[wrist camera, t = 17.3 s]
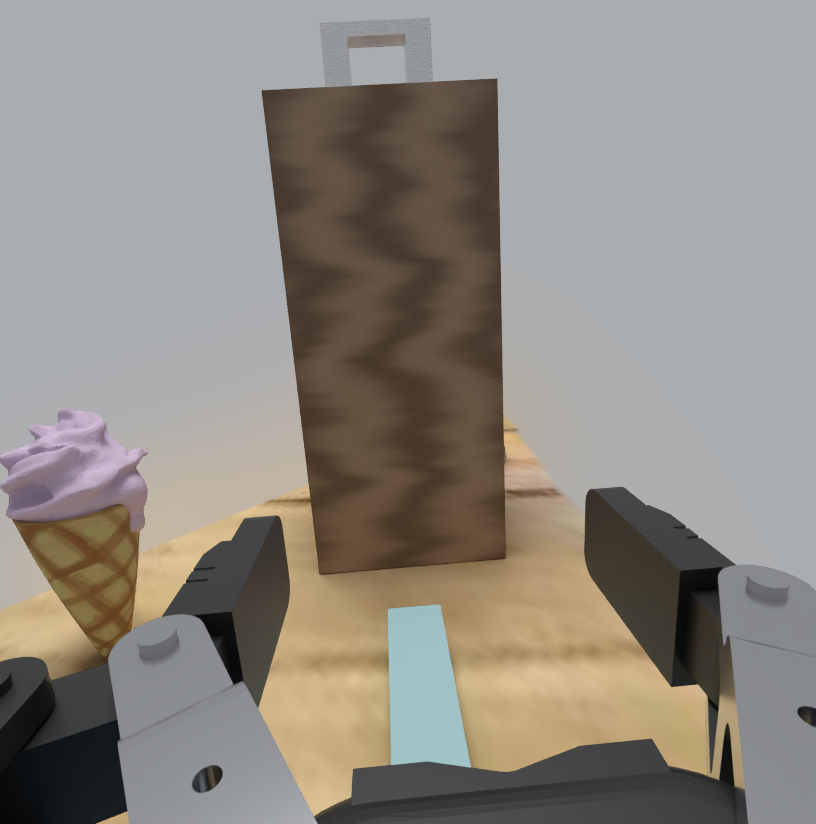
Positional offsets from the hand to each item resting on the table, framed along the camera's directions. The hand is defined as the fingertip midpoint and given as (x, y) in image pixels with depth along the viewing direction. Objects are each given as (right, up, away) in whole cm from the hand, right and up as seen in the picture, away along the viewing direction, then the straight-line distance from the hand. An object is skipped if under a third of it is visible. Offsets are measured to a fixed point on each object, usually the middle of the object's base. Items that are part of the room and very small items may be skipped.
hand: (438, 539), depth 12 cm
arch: (-2, +23, +21) cm, 31 cm away
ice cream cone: (-18, -12, +19) cm, 28 cm away
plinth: (-1, -7, +32) cm, 32 cm away
